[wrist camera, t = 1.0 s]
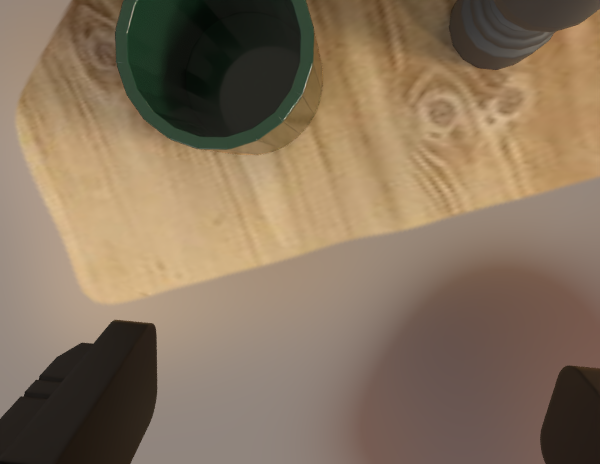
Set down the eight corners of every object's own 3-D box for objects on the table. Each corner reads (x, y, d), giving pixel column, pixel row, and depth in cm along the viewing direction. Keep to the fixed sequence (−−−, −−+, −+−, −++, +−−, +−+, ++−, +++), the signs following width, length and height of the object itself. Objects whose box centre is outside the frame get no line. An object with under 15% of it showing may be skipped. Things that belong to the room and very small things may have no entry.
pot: (204, -15, 34) (146, -90, 24) (343, 32, 33) (343, -26, 24) (162, 128, 36) (92, 112, 26) (295, 174, 35) (275, 176, 25)
